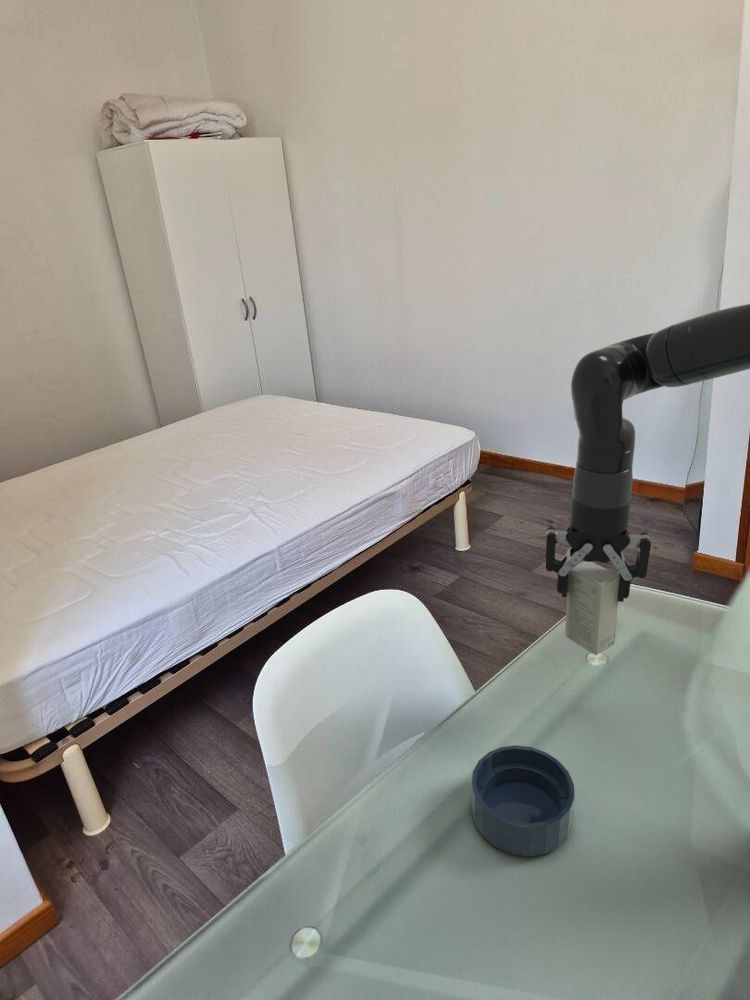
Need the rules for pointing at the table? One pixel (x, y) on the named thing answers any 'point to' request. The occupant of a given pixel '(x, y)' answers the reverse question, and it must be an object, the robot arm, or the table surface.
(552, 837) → the bowl
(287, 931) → the table surface
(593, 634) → the cosmetic box
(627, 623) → the table surface
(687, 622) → the table surface
